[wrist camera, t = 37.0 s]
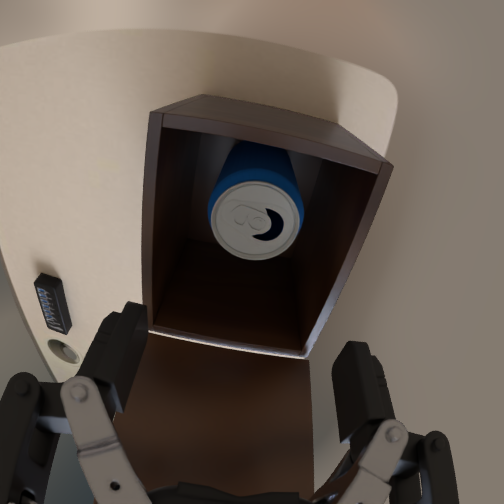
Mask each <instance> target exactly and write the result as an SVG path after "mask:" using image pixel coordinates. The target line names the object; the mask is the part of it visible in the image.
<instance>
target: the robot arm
mask: <svg viewBox="0 0 504 504" xmlns="http://www.w3.org/2000/svg"><path fill="white" fill-rule="evenodd" d="M147 339H148V314H147V306H146V305H142V304H138V303H134V302H130V301H128V302H127V303H126V305H125V307H124V309H123V311H122V313H118V312H114V311H113V312H112V313H110V314H109V315H108V316H107V317H106V318H104V319H103V321H102V323H101V325H100V327H99V329H98V332H97V333H96V335H95V337H94V341H92V343H91V345H90V347H89V349H88V352H87V354H86V356H85V358H84V360H83V362H82V364H81V367H80V369H79V371H78V372H77V374H76V375H75V376H74V377H71V378H69V379H68V380H67V381H66V382H62V383H50V382H38V380H37V378H36V377H35V376H33V375H32V374H30V373H27V372H21V373H17V374H16V375H14V376H13V377H12V378H11V379H10V380H9V382H8V384H7V387H6V389H5V391H4V393H3V396H2V398H1V401H0V504H44V499H45V494H46V489H47V484H48V479H49V475H50V471H51V467H52V463H53V459H54V455H55V451H56V448H57V444H58V440H59V437H60V434H61V433H65V434H72V435H73V437H74V440H75V443H76V446H77V449H78V451H77V456H78V459H79V462H80V465H81V467H82V470H83V472H84V474H85V477H86V479H87V481H88V484H89V486H90V488H91V490H92V492H93V494H94V496H95V499H96V501H97V503H98V504H384V502H385V500H386V499H387V497H388V495H389V502H390V504H459V499H458V491H457V484H456V477H455V471H454V465H453V460H452V455H451V450H450V445H449V441H448V439H447V437H446V436H445V435H444V434H443V433H442V432H439V431H432V432H430V433H428V434H427V435H426V436H423V435H418V434H414V433H411V432H408V431H407V429H406V427H405V426H404V425H403V424H402V423H401V422H400V421H398V420H396V418H395V415H394V410H393V406H392V402H391V398H390V394H389V390H388V387H387V383H386V379H385V378H384V377H385V375H384V371H383V368H382V365H381V363H380V362H379V360H378V359H377V358H376V356H372V355H371V354H370V350H369V347H368V344H367V343H366V342H356V341H348V342H347V343H346V345H345V346H344V348H343V349H342V351H341V353H340V354H339V355H338V357H337V359H336V360H335V362H334V364H333V367H332V381H333V389H334V396H335V404H336V412H337V420H338V428H339V437H340V443H350V449H349V450H348V451H347V453H346V454H345V456H344V457H343V459H342V460H341V461H340V463H339V464H338V466H337V467H336V469H335V470H334V472H333V473H332V474H331V476H330V477H329V479H328V480H327V481H326V482H325V484H324V485H323V486H322V487H321V488H319V489H318V490H317V491H316V492H315V493H314V494H313V495H312V497H311V498H310V499H309V500H307V499H304V498H301V497H299V492H267V493H261V494H255V495H249V496H236V495H233V494H230V493H227V492H224V491H221V490H218V489H215V488H213V487H210V486H205V485H198V484H192V483H187V482H181V481H178V485H170V486H163V487H160V488H156V489H153V490H151V491H149V492H147V490H146V488H145V486H144V485H143V483H142V481H141V479H140V477H139V476H138V474H137V472H136V470H135V468H134V466H133V464H132V463H131V461H130V459H129V457H128V455H127V453H126V451H125V449H124V446H123V444H122V442H121V440H120V438H119V436H118V433H117V431H116V429H115V427H114V424H113V422H112V421H113V418H114V415H115V412H116V411H117V412H120V413H124V410H125V407H126V404H127V400H128V397H129V394H130V391H131V388H132V385H133V382H134V379H135V376H136V373H137V370H138V367H139V364H140V361H141V358H142V355H143V352H144V350H145V347H146V344H147ZM419 473H420V477H421V485H422V497H421V488H420V479H419Z"/></svg>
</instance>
